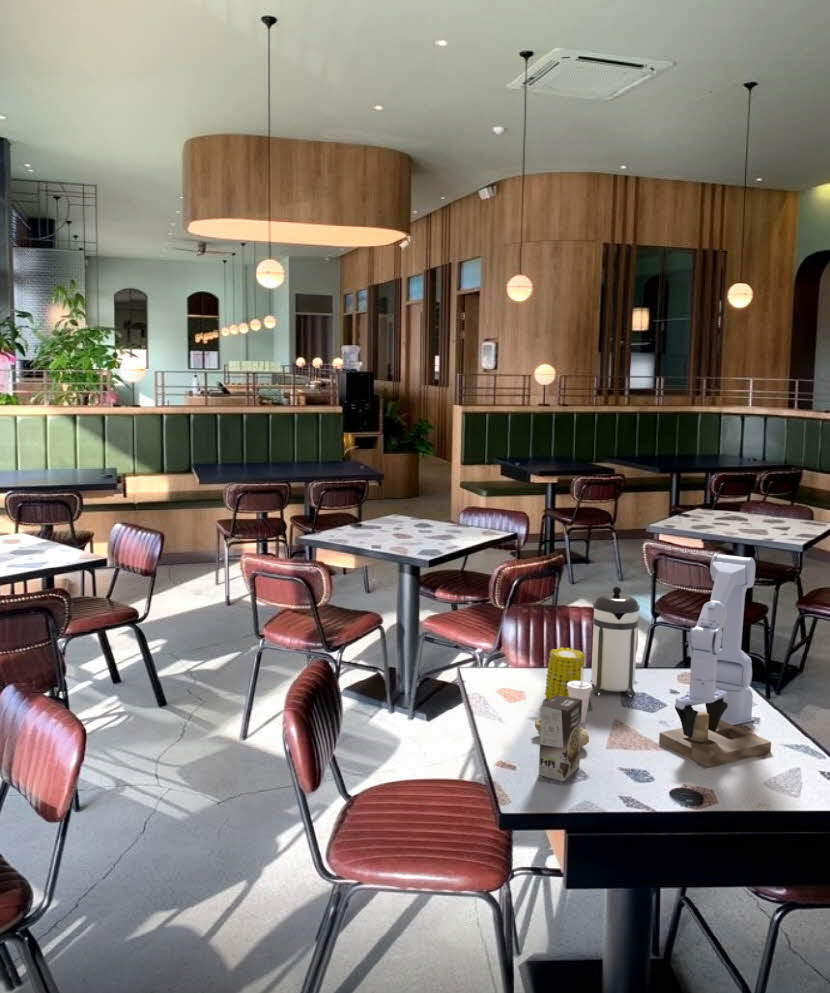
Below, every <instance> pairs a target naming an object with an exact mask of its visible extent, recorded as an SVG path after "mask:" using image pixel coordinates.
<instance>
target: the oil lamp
mask: <svg viewBox="0 0 830 993" xmlns="http://www.w3.org/2000/svg"><path fill="white" fill-rule="evenodd" d="M534 723H535V724H534V727H535V729H536V730H537V731H538V733H540V729H541V718H537V719H535V721H534ZM589 742H590V735H589V733H588V732H587V730H586V729H584V728H583V727H582V726H581V738H580V748H581V747H584V746H586V745H588V744H589Z"/></svg>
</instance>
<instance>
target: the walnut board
mask: <svg viewBox="0 0 830 993" xmlns="http://www.w3.org/2000/svg"><path fill="white" fill-rule="evenodd" d="M658 743H659V744H661V745H663V746H665V747H667V748H669V749H671V750H673V751H674V752H677V753H678V754H681V755H683V756H685V757H687V758H689V759H691V760H693V761H695V762H697V763H698V764H701V765H703V766H704V767H706V768H712V767H716V766H720V765H724V764H728V763H732V762H736V760H737V761H740V759H741V760H745V759H748V758H753V757H756V756H760V755H763V754H764V755H765V754H770V753H771V751H772V750H771V749H772V741H770V740H767V739H765V738H763V737H761V736H759V735H756V734H754V733H752V732H749V731H747V730H744V729H743V728H740V727H738V726H737V725H731V724H729V723H727V722H724V721H722V720H720V721H719V723H718V726H717V729H716V732H713V731H710V730H708V742H707V743H706V746H701V747H698V746H696V745H694V744H692V741H690V737H688V736H686V735H684V733H683V728H682V727H680V728H676V729H671V730H670V729H669V730H666V731H661V732H659V735H658Z"/></svg>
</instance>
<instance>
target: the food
mask: <svg viewBox="0 0 830 993" xmlns="http://www.w3.org/2000/svg"><path fill="white" fill-rule="evenodd" d="M584 663H585V654H584V651H581V650H578V649H577V650H576V649H573V648H572V649H571V647H562V646H561V647H558V648H556V649H555V648H552V649H551V650H550V651H549V659H548V663H547V665H548V666H547V671H546V672H547V674H546V679H545V680H546V682H545V684H546V685H545V692H544V694H545V699H546V700H548V701H549V700H550V699H552V698H553V697H555V696H556V695H560V696H566V697H569V695H568V689H567V683H568V682H570V681H581V668H583V670H584V669H585V668H584Z"/></svg>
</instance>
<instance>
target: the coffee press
mask: <svg viewBox="0 0 830 993" xmlns="http://www.w3.org/2000/svg"><path fill="white" fill-rule="evenodd" d="M612 592H613V593H603V594H601V595H598V596H597V597H596V599H595V600H594V602H593V603H592V607H593V616H592V623H593V628H592V629H593V631H592V654H591V675H590V676H591V679H590V683H591V682H592V683H593V684H594V685H593V686H594V689H593V695H594V694H597V695H598V693H600V695H602V692H603V691H608V692H624V693H626V694H627V696H628V697H629V695H632V697H631V698H634V697H635V696H636V692H635V690H634V688H633V687H634V685H635V681H636V680H635V679H636V664H637V662H636V660H637V643H638V642H637V638H638V627H639V620H640V619H639V611H640V610H641V607H640V605H639V602H638V601H637V599H635V598H634V597H633V596H631V595H628V594H624V593H621V592H622V589H621V588H620V587H619V586H614V587H613V589H612ZM597 695H596V696H597ZM633 696H634V697H633Z"/></svg>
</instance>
